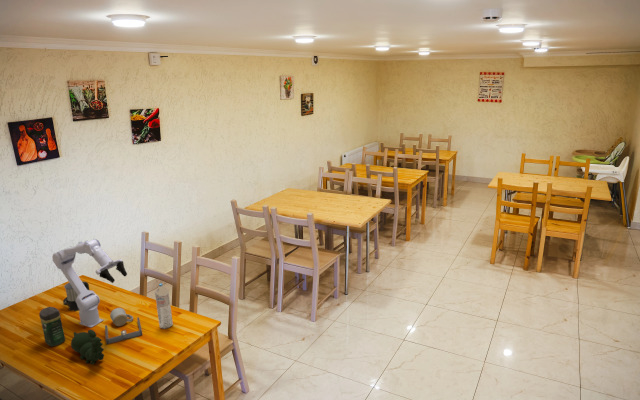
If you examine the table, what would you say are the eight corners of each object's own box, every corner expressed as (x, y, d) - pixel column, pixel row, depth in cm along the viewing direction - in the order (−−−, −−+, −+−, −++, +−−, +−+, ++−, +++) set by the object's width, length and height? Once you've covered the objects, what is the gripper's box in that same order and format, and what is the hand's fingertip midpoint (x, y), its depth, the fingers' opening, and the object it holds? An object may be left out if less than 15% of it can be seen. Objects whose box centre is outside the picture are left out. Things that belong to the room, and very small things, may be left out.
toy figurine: (111, 364, 208) (85, 341, 222) (107, 330, 201) (80, 310, 215) (91, 374, 201) (66, 351, 214) (86, 340, 194) (60, 318, 208)
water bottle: (175, 323, 237) (170, 282, 230) (166, 330, 231) (160, 288, 224) (166, 321, 240) (160, 280, 233) (156, 327, 234) (150, 285, 227)
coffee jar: (68, 341, 223) (61, 309, 218) (51, 348, 217) (44, 316, 212) (59, 334, 229) (52, 303, 224) (43, 342, 223) (35, 310, 218)
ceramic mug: (114, 329, 233) (112, 316, 231) (111, 322, 240) (109, 309, 238) (135, 322, 239) (133, 310, 237) (131, 316, 246) (129, 304, 244)
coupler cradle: (105, 329, 233) (104, 322, 232) (139, 321, 240) (138, 314, 239) (106, 345, 219) (105, 337, 218) (142, 335, 227) (141, 328, 226)
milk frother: (81, 311, 251) (76, 288, 247) (54, 311, 252) (49, 288, 248) (93, 298, 265) (89, 276, 261) (68, 299, 265) (63, 277, 261)
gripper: (92, 259, 213) (110, 280, 211) (117, 249, 225) (134, 268, 224) (88, 268, 216) (105, 288, 214) (112, 257, 229) (129, 276, 227)
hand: (119, 278), depth 219 cm, fingers open, 7 cm apart
